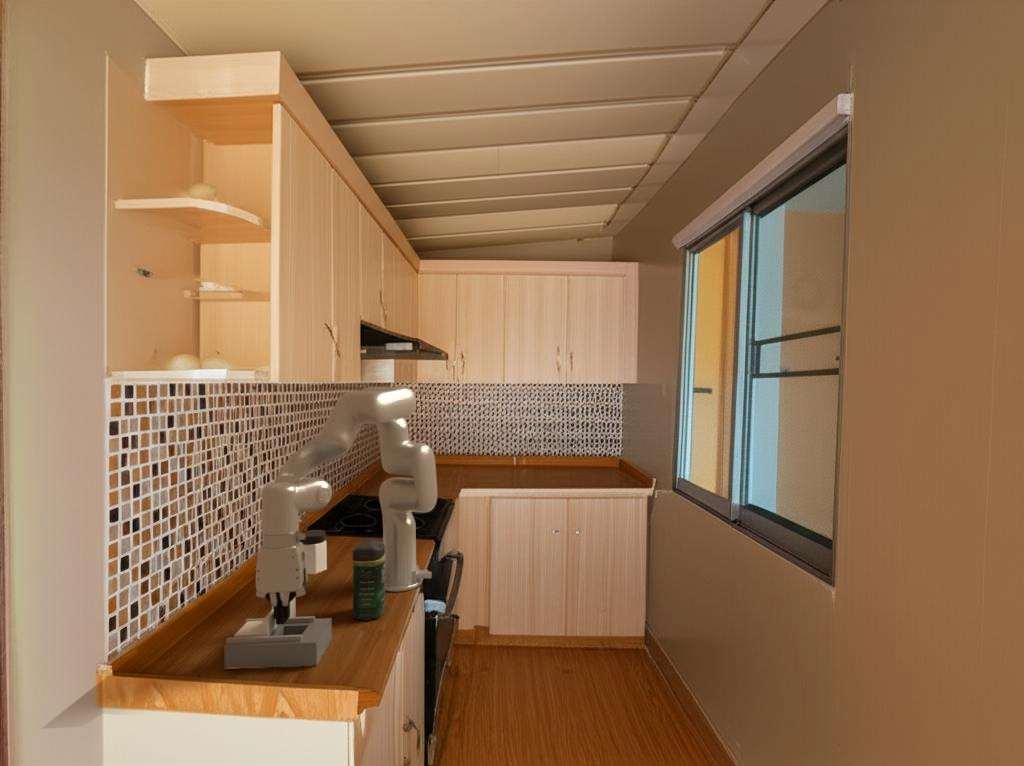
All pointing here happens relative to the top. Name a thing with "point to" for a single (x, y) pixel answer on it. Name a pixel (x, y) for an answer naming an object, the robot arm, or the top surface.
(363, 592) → the coffee jar
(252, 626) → the shutter
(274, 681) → the top surface
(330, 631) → the socket block
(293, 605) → the plug
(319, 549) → the jar
